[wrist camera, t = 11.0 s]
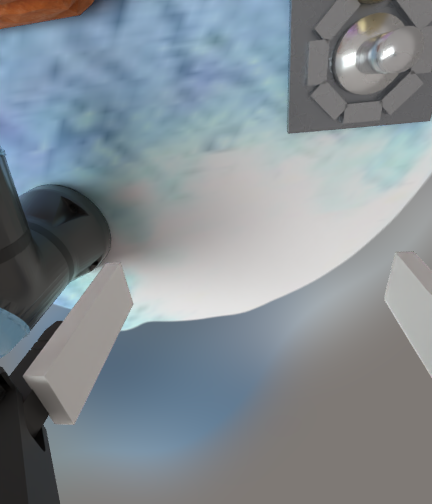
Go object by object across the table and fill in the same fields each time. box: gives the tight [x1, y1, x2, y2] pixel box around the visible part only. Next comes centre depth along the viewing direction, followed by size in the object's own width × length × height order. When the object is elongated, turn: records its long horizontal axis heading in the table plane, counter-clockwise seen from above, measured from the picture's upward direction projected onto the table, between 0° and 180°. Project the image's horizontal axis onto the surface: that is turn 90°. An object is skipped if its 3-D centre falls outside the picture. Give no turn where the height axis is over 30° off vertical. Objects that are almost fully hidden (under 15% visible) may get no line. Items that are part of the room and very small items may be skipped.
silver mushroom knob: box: [332, 13, 424, 95], centre depth 28 cm, size 7×7×8 cm
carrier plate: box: [287, 0, 432, 133], centre depth 30 cm, size 16×22×3 cm
